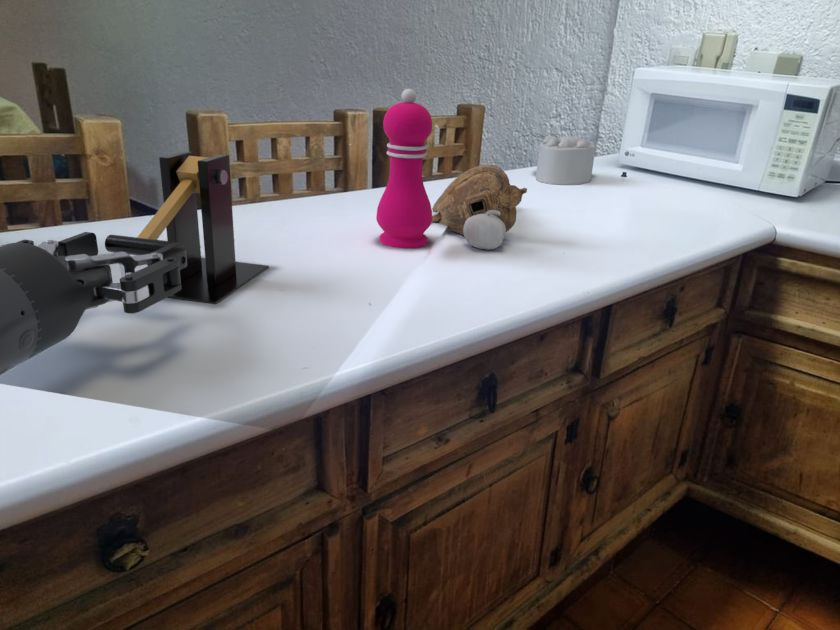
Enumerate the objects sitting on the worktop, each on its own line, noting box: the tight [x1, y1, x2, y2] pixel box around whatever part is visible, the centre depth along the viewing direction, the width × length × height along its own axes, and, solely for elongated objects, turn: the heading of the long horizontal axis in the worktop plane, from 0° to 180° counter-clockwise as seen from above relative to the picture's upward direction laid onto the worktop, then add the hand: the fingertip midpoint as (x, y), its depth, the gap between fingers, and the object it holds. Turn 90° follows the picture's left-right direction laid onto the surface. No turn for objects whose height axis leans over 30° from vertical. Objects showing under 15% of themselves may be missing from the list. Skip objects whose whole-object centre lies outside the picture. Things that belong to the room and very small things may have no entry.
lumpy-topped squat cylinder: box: [535, 135, 596, 186], centre depth 138 cm, size 10×13×9 cm
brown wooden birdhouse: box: [431, 164, 528, 236], centre depth 101 cm, size 10×24×15 cm
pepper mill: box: [376, 88, 433, 249], centre depth 82 cm, size 7×7×20 cm
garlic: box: [463, 210, 507, 251], centre depth 88 cm, size 6×5×5 cm
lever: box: [104, 155, 210, 256], centre depth 61 cm, size 13×6×2 cm, turn 168°
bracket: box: [158, 150, 270, 305], centre depth 67 cm, size 12×9×14 cm
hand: (136, 248), depth 57 cm, fingers open, 8 cm apart
